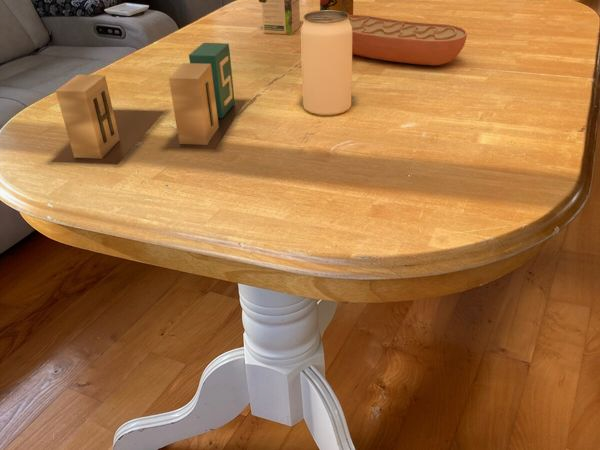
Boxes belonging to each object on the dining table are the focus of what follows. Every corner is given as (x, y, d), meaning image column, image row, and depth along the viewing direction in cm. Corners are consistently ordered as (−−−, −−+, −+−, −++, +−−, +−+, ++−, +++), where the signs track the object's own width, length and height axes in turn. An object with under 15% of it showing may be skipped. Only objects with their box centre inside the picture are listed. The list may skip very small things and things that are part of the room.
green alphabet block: (197, 116, 75) (188, 54, 70) (211, 102, 79) (203, 42, 74) (223, 118, 74) (216, 55, 69) (236, 103, 78) (230, 43, 74)
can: (344, 119, 75) (344, 24, 68) (296, 114, 77) (292, 21, 70) (356, 101, 80) (358, 10, 73) (311, 96, 82) (309, 8, 75)
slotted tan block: (167, 155, 68) (153, 80, 63) (204, 105, 81) (195, 40, 76) (216, 157, 67) (207, 81, 62) (246, 107, 80) (240, 40, 75)
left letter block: (53, 169, 66) (30, 93, 61) (109, 116, 79) (93, 49, 74) (119, 172, 65) (101, 95, 60) (165, 118, 77) (153, 50, 72)
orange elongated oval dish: (470, 59, 93) (474, 27, 90) (449, 79, 86) (453, 45, 83) (343, 41, 103) (343, 12, 100) (314, 58, 96) (314, 27, 93)
